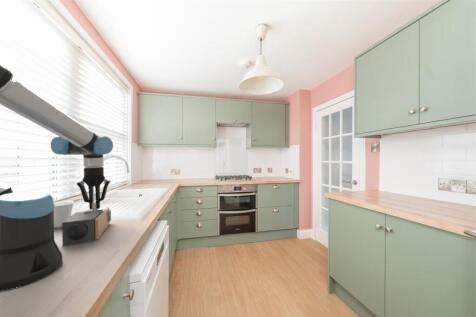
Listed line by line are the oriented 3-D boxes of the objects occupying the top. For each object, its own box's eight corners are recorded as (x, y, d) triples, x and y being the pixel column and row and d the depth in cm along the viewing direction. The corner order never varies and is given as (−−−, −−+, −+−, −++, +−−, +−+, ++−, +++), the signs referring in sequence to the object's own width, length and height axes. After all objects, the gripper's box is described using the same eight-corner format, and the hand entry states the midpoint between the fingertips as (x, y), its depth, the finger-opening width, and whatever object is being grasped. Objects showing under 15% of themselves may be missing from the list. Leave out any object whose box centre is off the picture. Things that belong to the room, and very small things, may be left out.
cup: (69, 227, 89) (68, 204, 89) (41, 230, 85) (41, 207, 85) (78, 220, 98) (77, 200, 98) (53, 223, 94) (53, 201, 94)
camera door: (100, 238, 76) (100, 219, 76) (95, 239, 75) (95, 219, 75) (111, 222, 94) (111, 206, 94) (107, 222, 94) (106, 207, 93)
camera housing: (93, 242, 74) (92, 218, 73) (60, 247, 70) (59, 221, 69) (103, 228, 88) (102, 207, 88) (76, 231, 84) (76, 210, 84)
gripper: (111, 166, 95) (112, 211, 95) (79, 166, 90) (80, 215, 90) (108, 167, 88) (109, 216, 89) (73, 167, 83) (74, 220, 83)
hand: (95, 215), depth 89 cm, fingers closed
